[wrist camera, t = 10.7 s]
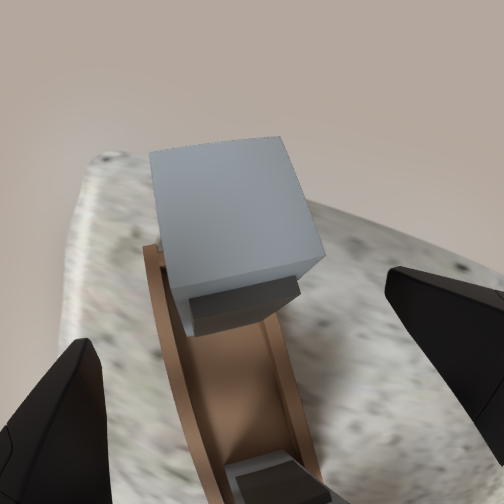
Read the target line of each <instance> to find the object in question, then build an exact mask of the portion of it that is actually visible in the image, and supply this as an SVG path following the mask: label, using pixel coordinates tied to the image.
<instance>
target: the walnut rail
mask: <svg viewBox="0 0 504 504" xmlns="http://www.w3.org/2000/svg"><path fill="white" fill-rule="evenodd" d="M143 254H144V261H145V267H146V273H147V279H148V285H149V291H150V296H151V302H152V307H153V312H154V317H155V322H156V327H157V332H158V336H159V341H160V345H161V350H162V354H163V358H164V362H165V366H166V370H167V374H168V378H169V382H170V386H171V390H172V394H173V397H174V401H175V404H176V408H177V411H178V415H179V418H180V422H181V425H182V428H183V431H184V435H185V438H186V441H187V444H188V447H189V450H190V453H191V456H192V459H193V462H194V465H195V468H196V470H197V473H198V476H199V479H200V481H201V484H202V487H203V489H204V492H205V495H206V497H207V500H208V502H209V504H349V503H348V502H347V501H345V500H344V499H343V498H341V497H340V496H339V495H337V494H336V493H335V492H333V491H332V490H331V489H330V488H328V487H327V486H326V485H325V484H324V483H323V479H322V476H321V472H320V468H319V465H318V461H317V457H316V454H315V450H314V446H313V443H312V439H311V435H310V432H309V428H308V425H307V421H306V417H305V414H304V410H303V406H302V403H301V399H300V396H299V392H298V388H297V385H296V381H295V378H294V374H293V370H292V367H291V363H290V360H289V356H288V353H287V349H286V346H285V342H284V338H283V335H282V331H281V328H280V324H279V321H278V317H277V314H276V312H274V313H273V314H272V315H270V316H269V317H267V318H266V319H264V320H263V321H261V322H258V323H254V324H251V325H247V326H242V327H238V328H234V329H230V330H226V331H222V332H217V333H213V334H209V335H204V336H200V337H195V336H189V337H187V335H186V333H185V330H184V327H183V324H182V321H181V318H180V316H179V313H178V310H177V307H176V304H175V301H174V298H173V295H172V292H171V289H170V284H169V279H168V274H167V269H166V263H165V258H164V252H163V251H162V252H158V249H157V246H156V244H153V245H148V246H143Z"/></svg>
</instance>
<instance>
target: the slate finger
mask: <svg viewBox="0 0 504 504" xmlns="http://www.w3.org/2000/svg"><path fill="white" fill-rule="evenodd" d="M149 157H150V166H151V174H152V182H153V189H154V196H155V203H156V210H157V217H158V223H159V229H160V235H161V241H162V247H163V252H164V258H165V263H166V269H167V274H168V279H169V284H170V289H171V292H172V295H173V298H174V301H175V304H176V307H177V310H178V313H179V316H180V318H181V321H182V324H183V327H184V330H185V333H186V335H187V337H189V336H195V337H200V336H204V335H209V334H213V333H217V332H222V331H226V330H230V329H234V328H238V327H242V326H247V325H251V324H254V323H258V322H261V321H263V320H264V319H266V318H267V317H269V316H270V315H272V314H273V313H274V312H276V311H277V310H279V309H280V308H282V307H283V306H285V305H286V304H287V303H289V302H290V301H292V300H293V299H295V298H296V297H297V296H299V295H300V294H301V292H300V289H299V286H298V283H297V280H299V279H300V278H301V277H302V276H303V275H304V274H305V273H307V272H308V271H309V270H310V269H311V268H312V267H313V266H315V265H316V264H317V263H318V262H319V261H320V260H321V259H322V258H324V257H325V256H326V254H325V251H324V248H323V245H322V242H321V240H320V237H319V234H318V231H317V229H316V226H315V223H314V220H313V218H312V215H311V212H310V210H309V207H308V204H307V202H306V199H305V196H304V194H303V191H302V189H301V186H300V184H299V181H298V178H297V176H296V173H295V171H294V168H293V166H292V164H291V161H290V159H289V156H288V154H287V151H286V149H285V146H284V144H283V142H282V140H281V137H280V136H278V137H264V138H252V139H242V140H232V141H224V142H215V143H207V144H199V145H193V146H185V147H179V148H172V149H166V150H160V151H155V152H149Z"/></svg>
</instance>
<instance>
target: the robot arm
mask: <svg viewBox="0 0 504 504" xmlns="http://www.w3.org/2000/svg"><path fill="white" fill-rule="evenodd" d="M385 297H386V299H387V300H388V302H389V303H390V305H391V306H392V308H393V309H394V311H395V312H396V314H397V316H398V317H399V319H400V320H401V322H402V323H403V325H404V326H405V328H406V330H407V331H408V332H409V334H410V335H411V336H412V338H413V339H414V340H415V342H416V343H417V344H418V346H419V347H420V348H421V350H422V351H423V352H424V354H425V355H426V356H427V358H428V359H429V360H430V362H431V363H432V364H433V366H434V367H435V368H436V370H437V371H438V372H439V374H440V375H441V377H442V378H443V379H444V381H445V382H446V383H447V385H448V386H449V388H450V389H451V390H452V392H453V393H454V395H455V396H456V398H457V399H458V400H459V402H460V403H461V405H462V406H463V408H464V409H465V411H466V412H467V414H468V415H469V417H470V418H471V420H472V421H473V422H474V425H475V426H476V428H477V429H478V431H479V432H480V434H481V435H482V437H483V438H484V440H485V442H486V443H487V445H488V446H489V448H490V450H491V451H492V453H493V454H494V456H495V458H496V459H497V461H498V463H499V464H500V465H501V466H503V465H504V292H502V291H498V290H493V289H490V288H486V287H482V286H479V285H475V284H471V283H467V282H463V281H459V280H455V279H451V278H447V277H443V276H439V275H435V274H431V273H427V272H423V271H419V270H414V269H410V268H406V267H402V266H398V267H394V268H391V269H390V270H389V271H388V273H387V279H386V285H385ZM0 504H113V503H112V494H111V485H110V473H109V460H108V440H107V414H106V405H105V396H104V386H103V375H102V366H101V362H100V359H99V357H98V355H97V353H96V351H95V349H94V347H93V344H92V342H91V341H90V339H88V338H81V339H76V340H74V341H73V342H72V343H71V344H70V345H69V347H68V348H67V349H66V350H65V351H64V352H63V354H62V355H61V356H60V357H59V358H58V359H57V361H56V362H55V363H54V364H53V366H52V367H51V368H50V369H49V370H48V372H47V373H46V374H45V375H44V376H43V377H42V379H41V380H40V381H39V382H38V384H37V385H36V386H35V388H34V389H33V390H32V391H31V392H30V394H29V395H28V396H27V397H26V399H25V400H24V401H23V402H22V404H21V405H20V406H19V408H18V409H17V410H16V412H15V413H14V414H13V415H12V417H11V418H10V419H9V421H8V422H7V425H5V426H4V427H3V429H2V430H1V432H0Z"/></svg>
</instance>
